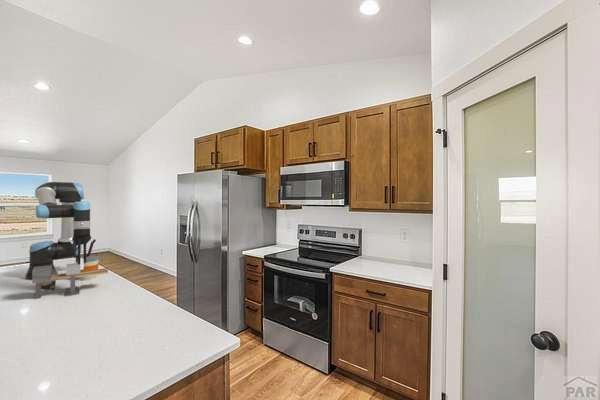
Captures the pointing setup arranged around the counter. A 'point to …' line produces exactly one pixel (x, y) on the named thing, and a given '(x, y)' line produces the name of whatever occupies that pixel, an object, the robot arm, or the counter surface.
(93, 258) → the reusable coffee cup
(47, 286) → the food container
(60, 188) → the robot arm
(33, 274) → the balance beam
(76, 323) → the counter surface
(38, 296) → the balance stand
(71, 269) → the block
